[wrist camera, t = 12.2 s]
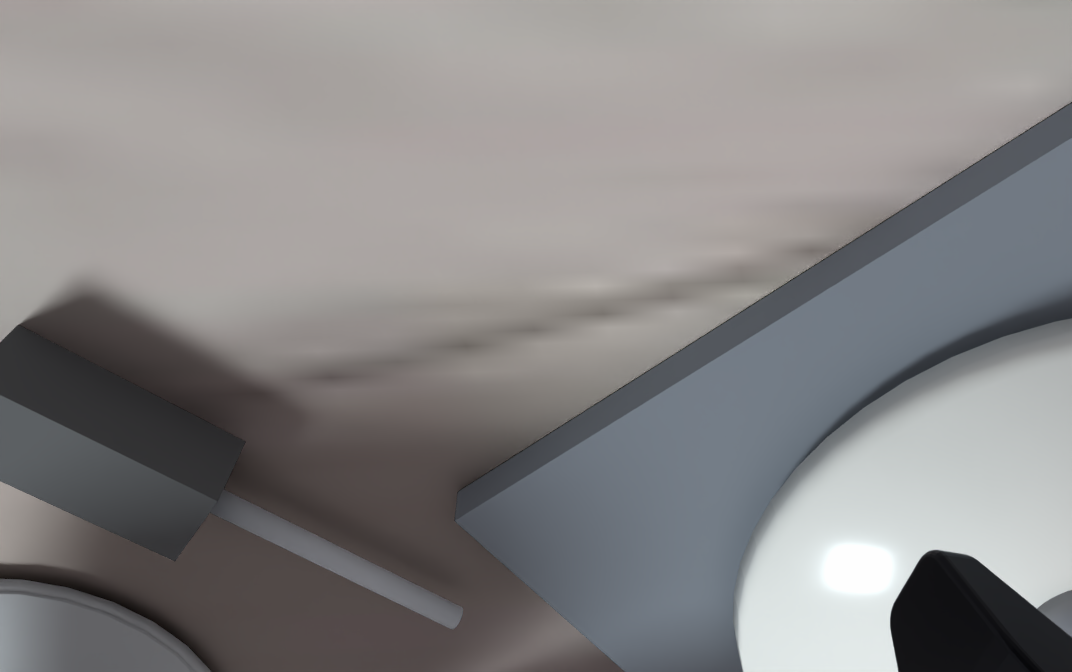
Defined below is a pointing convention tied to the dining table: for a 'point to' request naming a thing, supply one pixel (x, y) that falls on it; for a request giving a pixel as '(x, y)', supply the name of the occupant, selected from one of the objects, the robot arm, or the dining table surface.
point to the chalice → (82, 634)
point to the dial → (917, 507)
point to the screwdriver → (146, 465)
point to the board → (768, 409)
